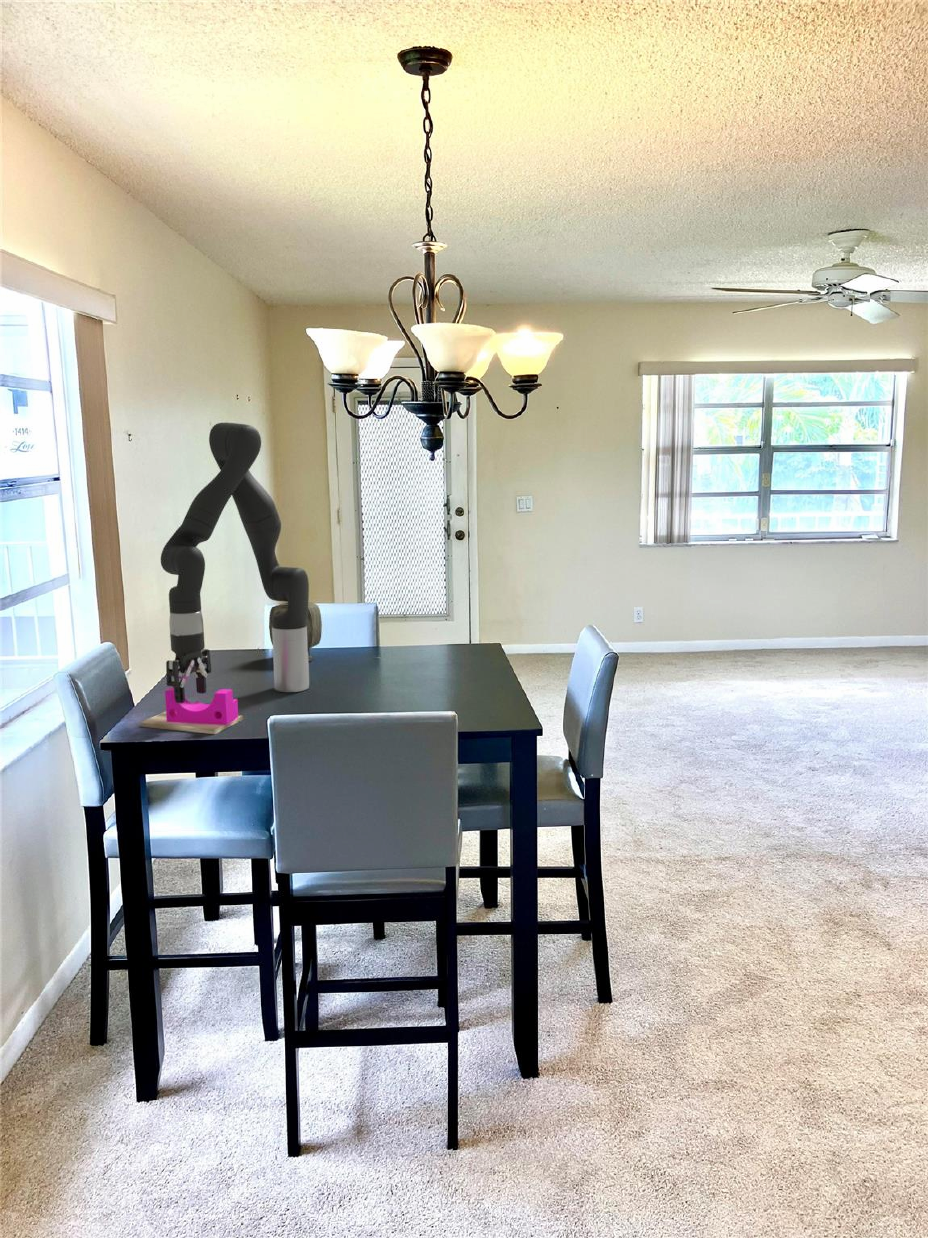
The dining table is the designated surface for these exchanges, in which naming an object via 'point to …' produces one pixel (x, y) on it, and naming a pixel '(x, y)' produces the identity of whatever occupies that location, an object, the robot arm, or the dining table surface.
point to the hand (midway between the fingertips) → (191, 697)
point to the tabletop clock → (312, 624)
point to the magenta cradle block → (202, 709)
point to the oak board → (185, 725)
